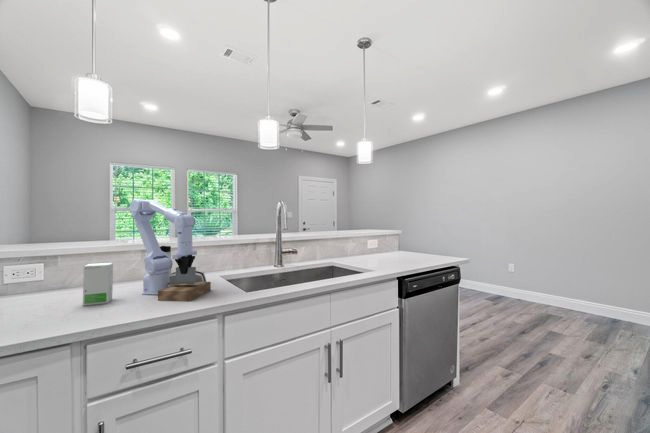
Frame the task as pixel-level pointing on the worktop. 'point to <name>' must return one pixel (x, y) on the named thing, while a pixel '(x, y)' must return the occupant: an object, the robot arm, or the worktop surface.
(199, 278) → the grey arched slab
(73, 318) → the worktop surface
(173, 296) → the slotted tan panel
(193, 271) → the grey flat-faced block
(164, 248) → the travel mug
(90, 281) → the skincare box
